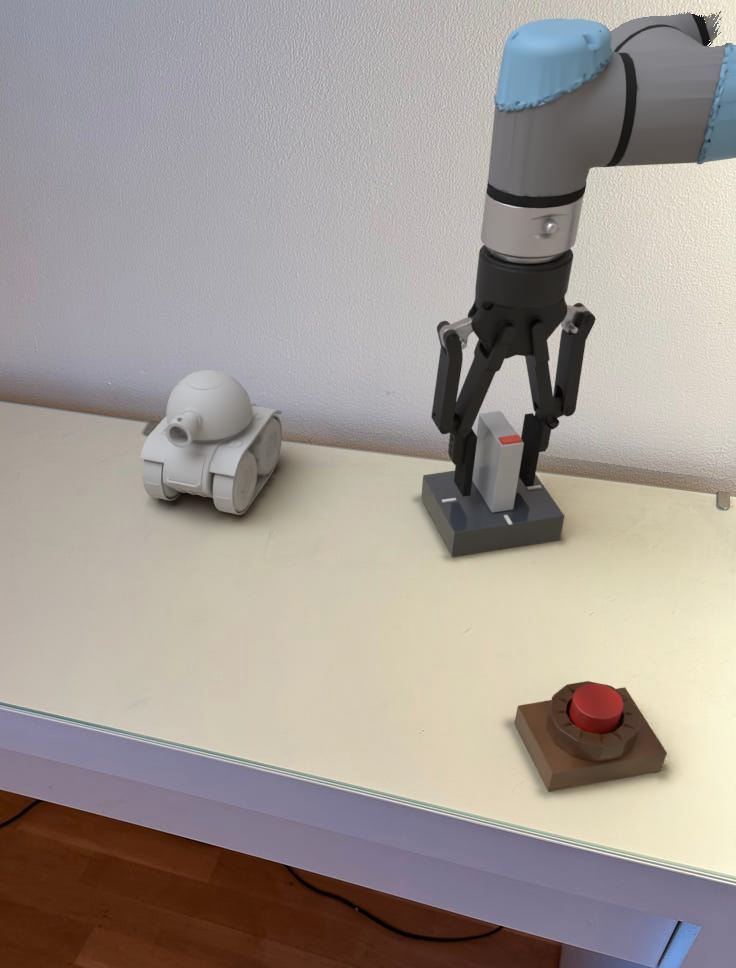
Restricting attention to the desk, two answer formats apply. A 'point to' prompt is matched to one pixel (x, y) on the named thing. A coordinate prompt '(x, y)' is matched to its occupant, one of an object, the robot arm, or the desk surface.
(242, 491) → the toy tank
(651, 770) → the button block
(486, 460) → the grey rectangular block
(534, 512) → the plate
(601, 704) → the button
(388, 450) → the desk surface
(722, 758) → the desk surface
